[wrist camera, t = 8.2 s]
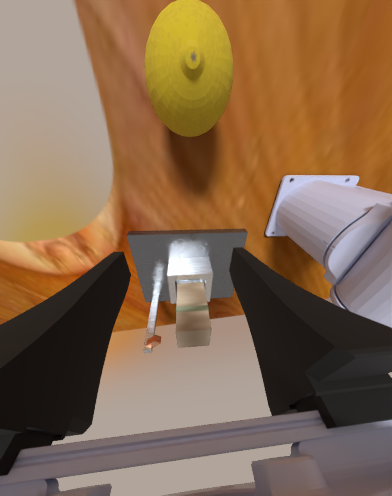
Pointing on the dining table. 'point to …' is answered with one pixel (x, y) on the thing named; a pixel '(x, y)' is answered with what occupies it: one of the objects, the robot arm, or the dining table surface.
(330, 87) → the dining table surface
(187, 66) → the lemon
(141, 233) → the stand
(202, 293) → the block
